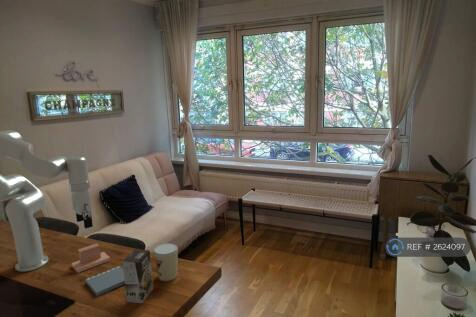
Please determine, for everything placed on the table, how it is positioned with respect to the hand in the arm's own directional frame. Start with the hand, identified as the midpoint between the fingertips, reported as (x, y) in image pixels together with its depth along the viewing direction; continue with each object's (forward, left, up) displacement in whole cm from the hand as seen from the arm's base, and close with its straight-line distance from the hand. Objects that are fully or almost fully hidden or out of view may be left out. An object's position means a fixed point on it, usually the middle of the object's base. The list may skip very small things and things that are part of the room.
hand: (84, 224), depth 141 cm
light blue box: (+21, 0, -19) cm, 28 cm away
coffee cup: (+34, +19, -19) cm, 43 cm away
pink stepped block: (+1, 0, -19) cm, 19 cm away
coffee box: (+38, +5, -19) cm, 42 cm away
